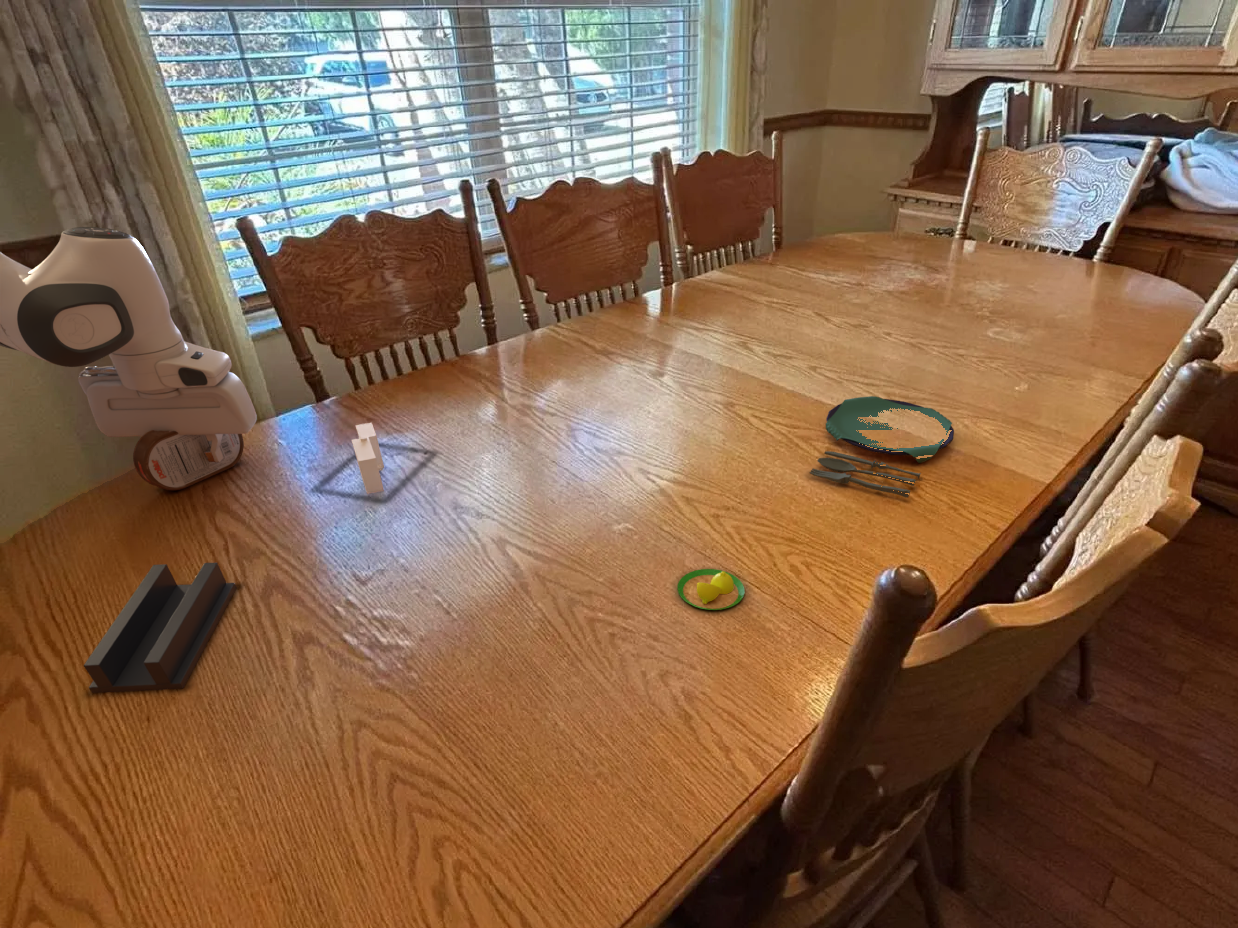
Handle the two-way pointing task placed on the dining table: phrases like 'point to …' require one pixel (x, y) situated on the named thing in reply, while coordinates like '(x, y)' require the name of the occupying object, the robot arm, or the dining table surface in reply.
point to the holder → (160, 632)
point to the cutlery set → (845, 426)
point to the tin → (182, 458)
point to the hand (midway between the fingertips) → (195, 461)
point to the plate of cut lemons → (712, 586)
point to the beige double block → (368, 457)
